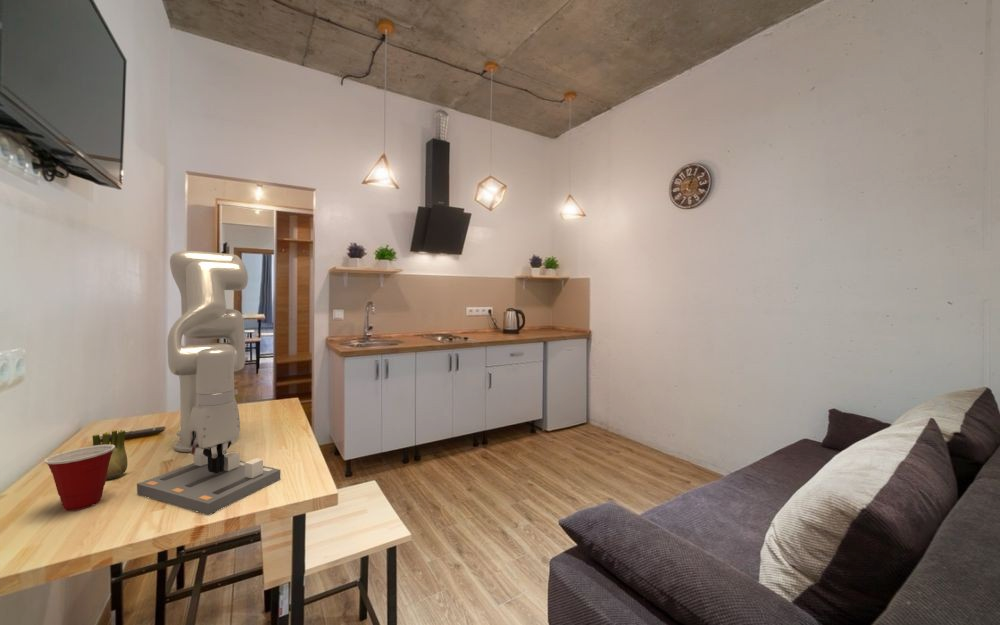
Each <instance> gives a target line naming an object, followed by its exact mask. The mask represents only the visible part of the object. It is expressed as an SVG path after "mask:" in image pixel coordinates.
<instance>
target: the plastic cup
mask: <svg viewBox="0 0 1000 625" xmlns="http://www.w3.org/2000/svg"><path fill="white" fill-rule="evenodd" d="M114 448H115V446H114V445H111V444H109V445H102V444H101V445H96V446H93V445H92V446H85V447H79V448H75V449H70V450H66V451H64V452H63V451H62V452H60V453H57V454H54V455H51V456H48V457H47V458H45V459H44V460H43V461H44V463H45V464H46V465H47V466H48V468H49V469H50V472H51V474H52V478H53V480H54V483H55V487H56V492H57V494H58V496H59V499H60V502H61V506H62V508H63V510H64V511H68V512H72V511H80V510H84V509H86V508H90V507H93V506H95V505H96V504H98V503H100V501H101V500H102V498H103V493H104V489H105V485H106V481H107V480H106V477H107V472H108V466H109V461H110V459H111V455H112V452H113V449H114Z"/></svg>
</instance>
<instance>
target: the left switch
mask: <svg viewBox="0 0 1000 625" xmlns="http://www.w3.org/2000/svg"><path fill="white" fill-rule="evenodd" d="M193 457H194V459H193V460H194V461H193V463H194V465H197V466H203V465H206V464H208V457H206V456H205V455H203V454H201V455H194V456H193Z"/></svg>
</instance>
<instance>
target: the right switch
mask: <svg viewBox="0 0 1000 625" xmlns="http://www.w3.org/2000/svg"><path fill="white" fill-rule="evenodd" d="M244 462H245V477H248V478H254V477H256V476H258V475H260V474H263V466H264V459H263V458H257V457H256V458H252V459H249V460H248V461H244Z"/></svg>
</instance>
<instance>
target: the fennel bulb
mask: <svg viewBox="0 0 1000 625" xmlns="http://www.w3.org/2000/svg"><path fill="white" fill-rule="evenodd" d="M110 435H111V439H110ZM125 437H126V430H122V429H121V430H117V429H112V430H111V432H110V431H107V432H106V431H105V432H103V433H102V441H101V437H100V433H95V434H93V435H92V446H96V445H114V446H115V448H114V449H113V452H112V455H111V459H110V461H109V466H108V472H107V477H106V481H107V480H112V479H116V478H119V477H121V476H122V475H123V474H124V473H125V472H126V470H127V469H128V456H127V452H126V446H125Z"/></svg>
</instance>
